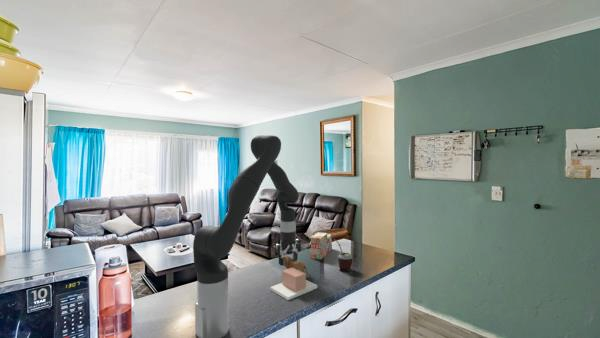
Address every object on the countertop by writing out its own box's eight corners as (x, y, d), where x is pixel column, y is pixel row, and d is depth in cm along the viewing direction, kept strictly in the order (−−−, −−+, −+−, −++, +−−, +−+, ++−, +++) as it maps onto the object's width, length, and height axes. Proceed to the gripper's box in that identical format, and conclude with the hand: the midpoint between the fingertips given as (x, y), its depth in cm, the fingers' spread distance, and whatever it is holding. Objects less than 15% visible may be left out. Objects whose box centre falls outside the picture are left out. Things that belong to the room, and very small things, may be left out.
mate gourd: (355, 272, 131) (354, 241, 131) (340, 273, 129) (340, 243, 129) (348, 266, 139) (348, 237, 138) (334, 268, 136) (333, 239, 136)
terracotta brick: (295, 291, 108) (295, 277, 108) (282, 284, 115) (282, 270, 115) (305, 287, 112) (305, 273, 112) (292, 280, 119) (292, 267, 119)
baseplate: (288, 300, 104) (288, 297, 104) (270, 289, 113) (270, 287, 113) (317, 288, 114) (317, 285, 114) (299, 279, 123) (299, 276, 123)
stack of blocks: (322, 247, 171) (322, 228, 171) (332, 249, 169) (332, 229, 168) (310, 258, 151) (310, 236, 151) (321, 260, 149) (320, 238, 149)
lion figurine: (279, 276, 127) (279, 257, 127) (283, 271, 132) (283, 253, 132) (310, 279, 123) (309, 259, 123) (312, 274, 128) (312, 256, 128)
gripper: (280, 233, 122) (281, 269, 122) (304, 228, 131) (304, 261, 131) (271, 230, 127) (271, 264, 128) (294, 226, 137) (294, 257, 137)
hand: (288, 263), depth 130 cm, fingers open, 8 cm apart
